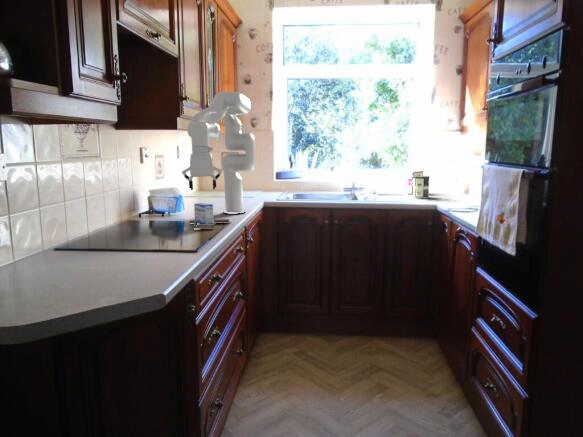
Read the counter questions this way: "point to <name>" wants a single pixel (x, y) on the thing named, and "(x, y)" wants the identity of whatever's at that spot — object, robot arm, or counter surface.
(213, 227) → the grey shallow tray
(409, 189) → the candy bar box
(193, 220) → the door-edge strip
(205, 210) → the medicine box
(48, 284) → the counter surface
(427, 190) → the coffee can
